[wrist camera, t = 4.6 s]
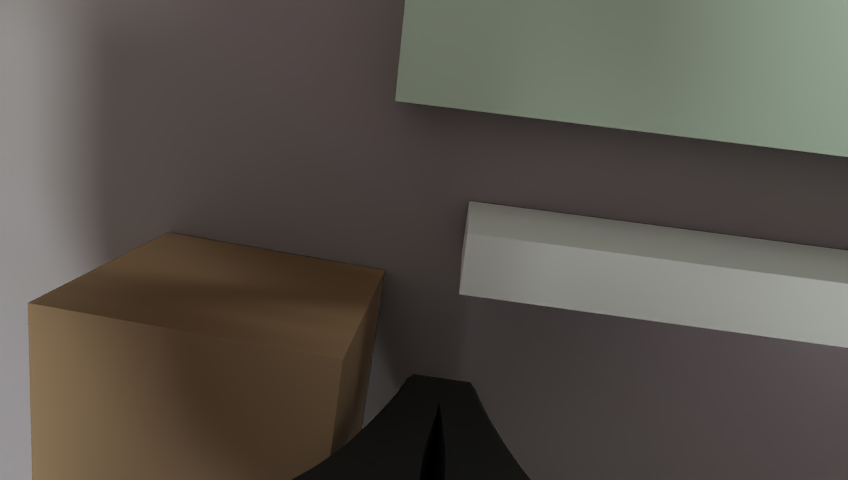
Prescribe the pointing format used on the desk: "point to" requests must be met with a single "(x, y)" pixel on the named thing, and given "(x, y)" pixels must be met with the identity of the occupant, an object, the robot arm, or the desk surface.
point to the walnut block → (200, 364)
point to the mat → (640, 65)
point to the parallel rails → (656, 273)
